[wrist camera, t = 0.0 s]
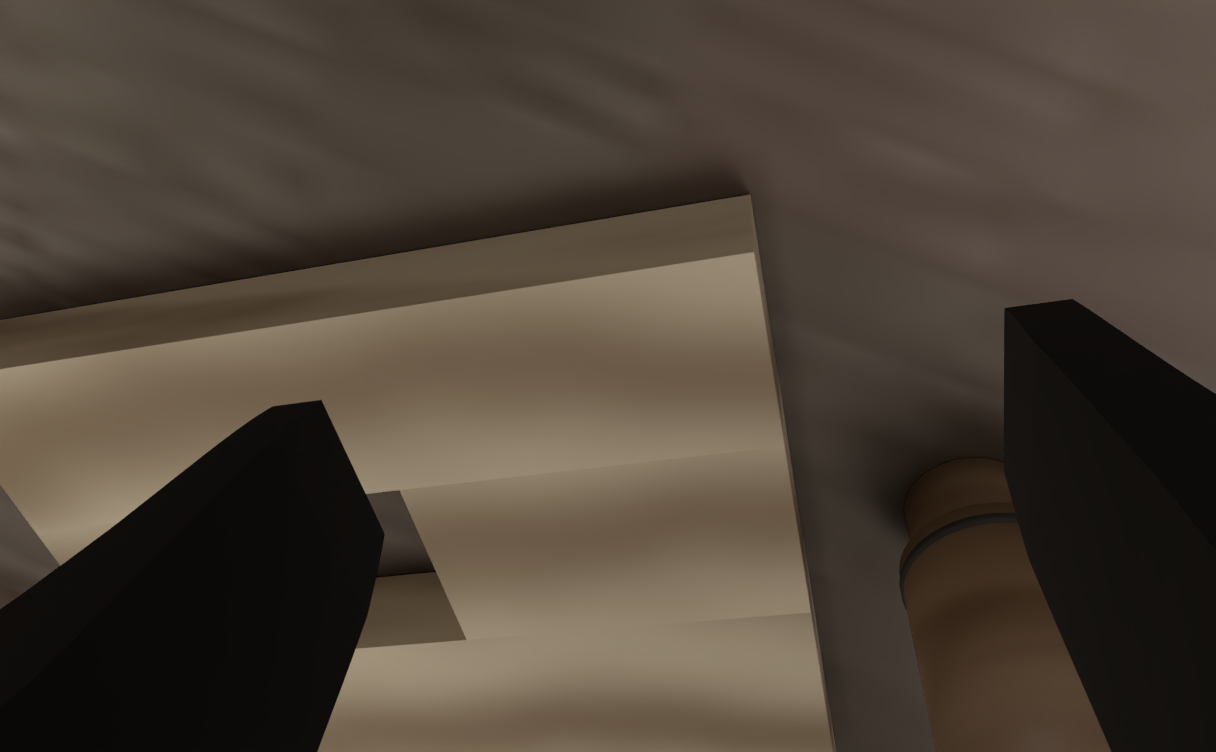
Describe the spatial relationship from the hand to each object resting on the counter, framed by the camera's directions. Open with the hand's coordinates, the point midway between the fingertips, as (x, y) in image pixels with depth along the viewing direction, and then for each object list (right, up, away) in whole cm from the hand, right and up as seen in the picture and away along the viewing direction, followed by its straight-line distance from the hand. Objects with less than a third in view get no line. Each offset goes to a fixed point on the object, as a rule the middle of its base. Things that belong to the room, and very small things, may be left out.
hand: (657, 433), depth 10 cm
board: (-4, -4, +16) cm, 17 cm away
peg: (+8, -3, +13) cm, 16 cm away
